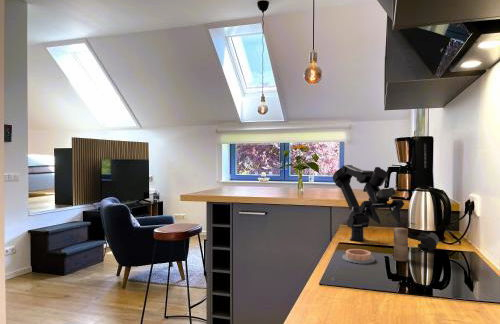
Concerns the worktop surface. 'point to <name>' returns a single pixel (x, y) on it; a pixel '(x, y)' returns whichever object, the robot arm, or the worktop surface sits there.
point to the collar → (358, 256)
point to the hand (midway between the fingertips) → (389, 222)
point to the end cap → (427, 241)
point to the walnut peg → (401, 244)
